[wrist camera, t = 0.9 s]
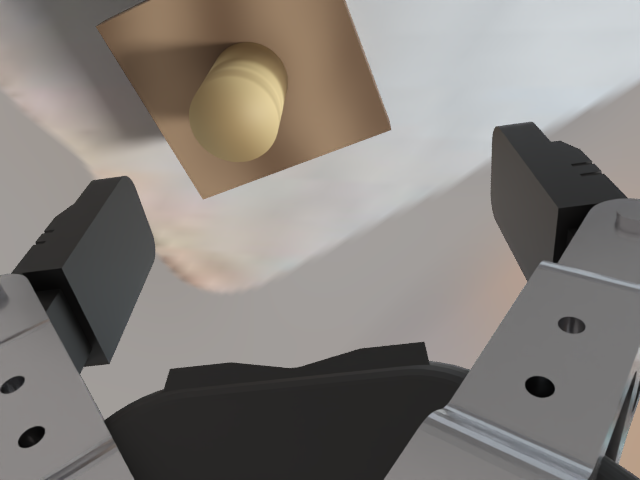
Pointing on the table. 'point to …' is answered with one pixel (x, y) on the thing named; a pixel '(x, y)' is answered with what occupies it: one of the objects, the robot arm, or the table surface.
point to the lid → (248, 82)
